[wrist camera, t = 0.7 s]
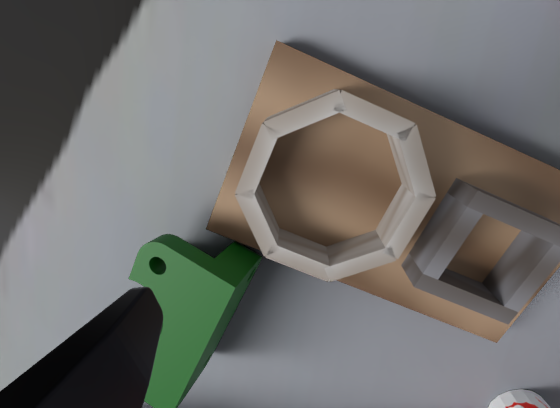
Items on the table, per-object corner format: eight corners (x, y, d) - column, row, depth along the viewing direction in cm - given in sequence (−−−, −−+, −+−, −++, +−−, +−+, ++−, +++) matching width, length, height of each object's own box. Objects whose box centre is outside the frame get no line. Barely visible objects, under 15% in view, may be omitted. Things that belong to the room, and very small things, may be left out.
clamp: (207, 218, 28) (161, 205, 19) (268, 254, 27) (251, 259, 18) (131, 347, 27) (46, 398, 18) (193, 388, 26) (136, 462, 17)
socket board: (485, 328, 25) (518, 371, 21) (211, 220, 23) (195, 246, 19) (595, 188, 21) (660, 211, 18) (277, 43, 19) (273, 33, 15)
